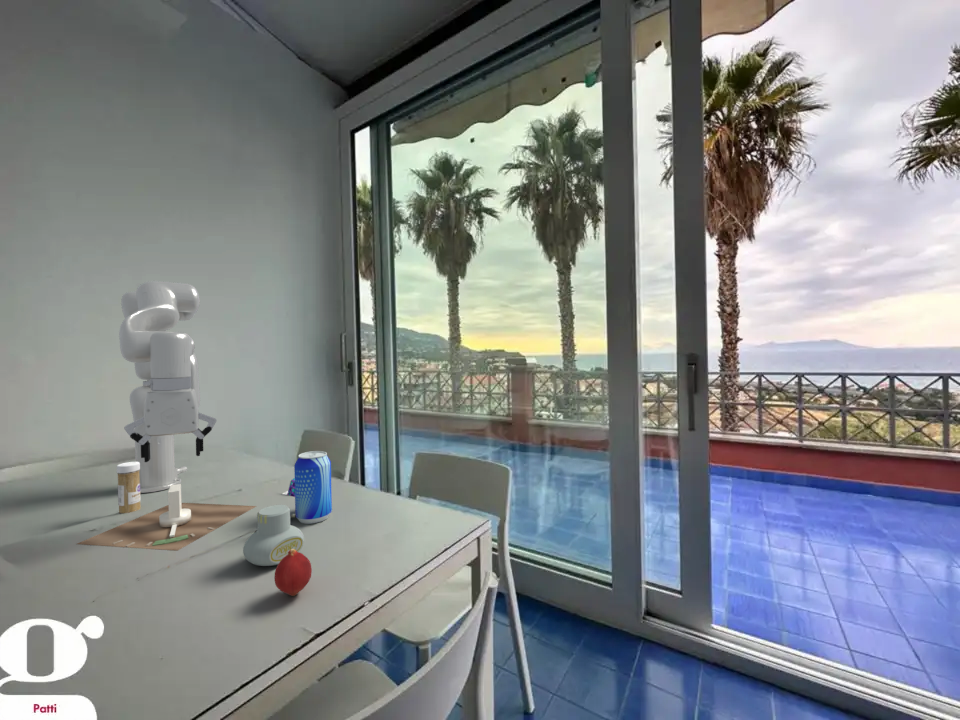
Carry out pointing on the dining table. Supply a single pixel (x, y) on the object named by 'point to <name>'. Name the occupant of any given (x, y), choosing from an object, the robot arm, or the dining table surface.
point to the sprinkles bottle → (128, 487)
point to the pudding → (291, 489)
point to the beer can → (313, 487)
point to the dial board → (168, 528)
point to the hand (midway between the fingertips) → (173, 457)
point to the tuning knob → (174, 510)
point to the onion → (293, 573)
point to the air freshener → (272, 537)
